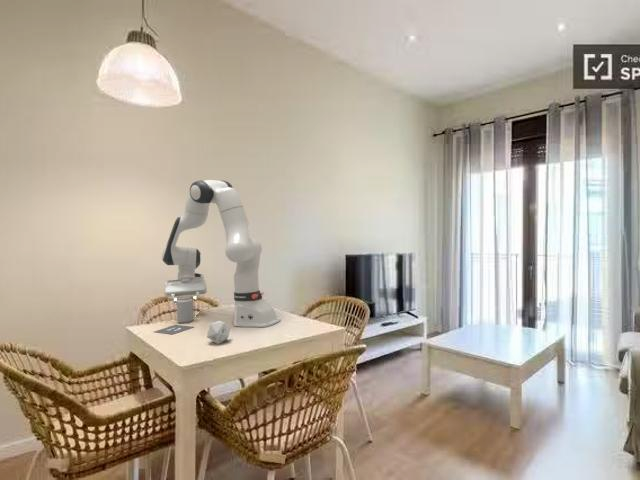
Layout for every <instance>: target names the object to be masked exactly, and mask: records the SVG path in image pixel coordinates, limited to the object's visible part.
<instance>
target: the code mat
mask: <svg viewBox="0 0 640 480" xmlns="http://www.w3.org/2000/svg"><path fill="white" fill-rule="evenodd" d="M193 328H194V326H192V325H182V324H181V325H180V324H173V325H171V326H167V327H164V328H160V329H157V330H154V331H153V333H158V334H165V335H172V336H173V335H176V334H178V333H181V332H184V331H187V330H190V329H193Z"/></svg>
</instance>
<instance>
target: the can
mask: <svg viewBox="0 0 640 480" xmlns="http://www.w3.org/2000/svg"><path fill="white" fill-rule="evenodd" d="M176 298H177V301H176V303H175V305H176V306H175V307H176V318H177V320H176V321H177V322H178V323H179V324H188V323H191V322H193V321H194V319H195V316H194V315H195V314H194V313H195V312H194V298H193V299H192V295H185V296H178V297H176Z"/></svg>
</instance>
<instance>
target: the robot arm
mask: <svg viewBox="0 0 640 480" xmlns="http://www.w3.org/2000/svg"><path fill="white" fill-rule="evenodd" d="M211 204H216V205H217V208H218V211H219V215H220V217H221V220H222V223H223V227H224V231H225V240H226V246H225V250H224V251H225V256H226V257H227V259H228V260H229V261H230V262H233V263H236V268H235V271H234V275H233V282H234V283H233V284H234V287H233V288H234V292H233V299H234V313H233V320H232V323H233V327H245V328H246V327H248V328H266V327H270V326H273V325H275V324H278V323H280V322H281V320H282V319H281V317H277V316H276V311H275V307H274V306H272V305H271V304H269V302H267V301H266V300H265V299H264V298H263V295H264V293H265V292H261V290H260V289H259V288H260V287H259V267H260V260H261V253H262V249H263V248H262V244H261V243H260V241H259V240H257V239H256V238H254V237H250V233H249V221H248V218H247V214H246V211H245V209H244V205H243V202H242V200H241V198H240V196H239V193H238V192H237V190H236V189H235V188H233V185H232V184H231V183H230V182H228V181H226V180H218V179H217V180H215V179H207V180H206V179H205V180H196V181H193V182H192V184H190V187H189V193H188V196H187V198H186V202H185V206H184V211H183V214H181V216H178V217H177V218H176V219H175V221H174V224H173V226H172V229H171V231H170V234H169V238H168V239H167V243H166V245H165V248H164V250H163V252H162V254H161V255H162V256H161V259H162V261H163V263H164V264H165V265H167V266H178V267H177V270H178V272H177V279H174V280H171V279H169V280H167V281H166V282H164V291H163V293H164V296H165V297H166V298H172V301H173V303H174V304H176V301H177V300H178V299H177V298H178V297H184V296H193V302H198V299H199V297H200V295H205V294H206V293H207V291H208V289H207V282H206V280H205V276H204V274H202V273H197V272H196V269H197V268H199V266H200V264H201V252H200V250H199V249H198V248H196V247H189V246H188V247H185V246H178V245H177V242H178V240H179V237H180V235H181V233H182V232H184V231H187V230H192V229H198V228H200V227H202V226H203V225H204V224H205V223H206V222H207V218H208V214H209V210H210V208H209V207H210V205H211ZM194 295H195V296H194Z"/></svg>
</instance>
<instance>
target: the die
mask: <svg viewBox="0 0 640 480" xmlns="http://www.w3.org/2000/svg"><path fill="white" fill-rule="evenodd" d="M208 328H209V329H208V331H207V335H206V338H207V339H208V340H210V341H212V342H213V343H215V344H217V345H220V344H222V343H224V342H226V341H228V338H229V337H230V336H229V335H230V331H231V327H230V326H229V325H228V324H227V323H225V322H224V321H221V320H217V321H214V322H212V323H210V324H209V327H208Z"/></svg>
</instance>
